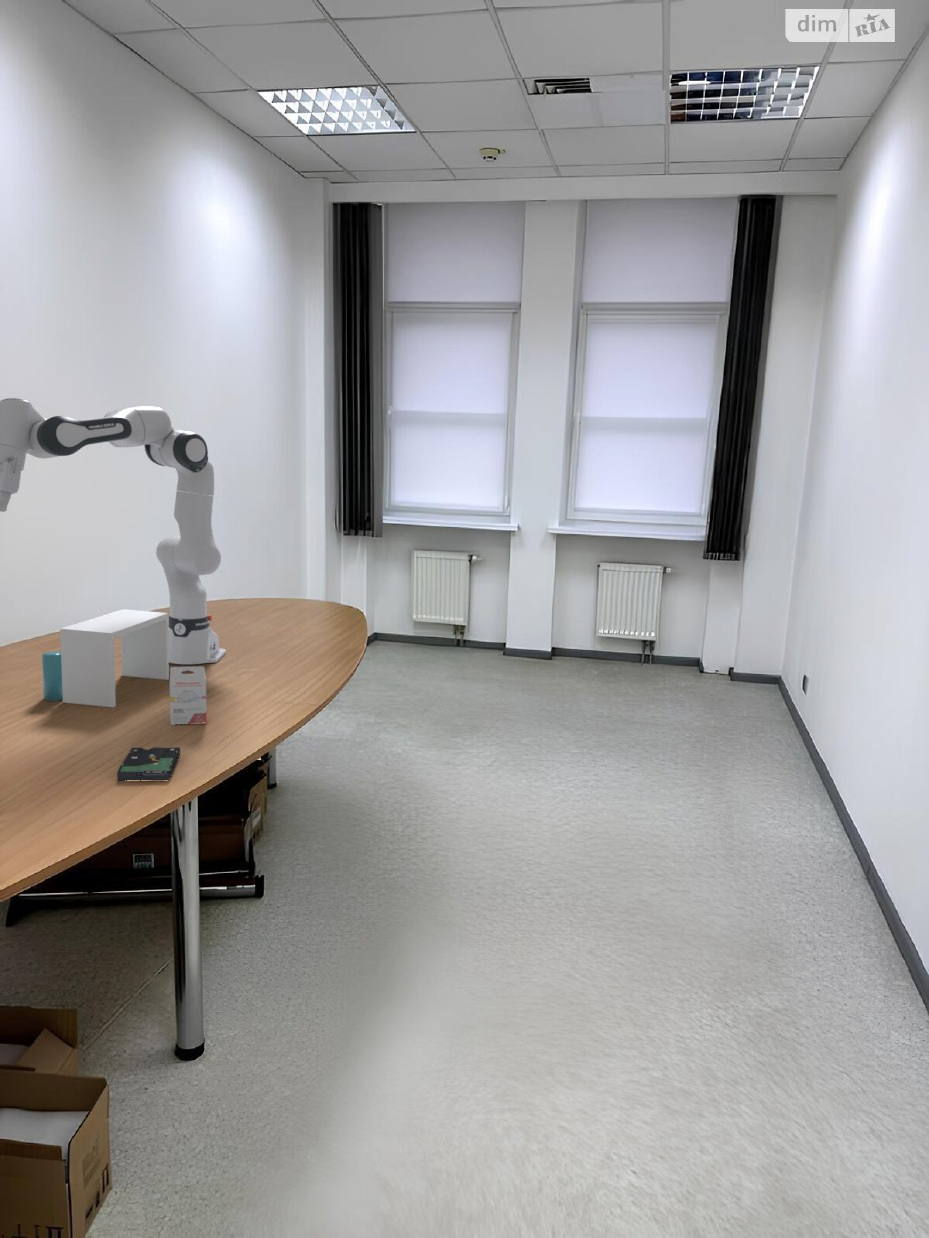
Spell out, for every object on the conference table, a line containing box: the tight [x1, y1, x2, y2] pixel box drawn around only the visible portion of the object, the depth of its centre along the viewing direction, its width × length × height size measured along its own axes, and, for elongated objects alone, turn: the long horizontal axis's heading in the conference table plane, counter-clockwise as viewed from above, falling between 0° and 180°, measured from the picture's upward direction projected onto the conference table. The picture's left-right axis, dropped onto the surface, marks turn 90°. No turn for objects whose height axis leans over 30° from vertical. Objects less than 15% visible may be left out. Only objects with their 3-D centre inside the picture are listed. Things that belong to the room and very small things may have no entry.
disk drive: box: [116, 746, 181, 782], centre depth 181 cm, size 10×3×15 cm
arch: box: [60, 608, 170, 708], centre depth 234 cm, size 30×14×20 cm, turn 172°
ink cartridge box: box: [169, 665, 207, 726], centre depth 211 cm, size 9×5×15 cm, turn 105°
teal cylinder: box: [41, 650, 63, 702], centre depth 225 cm, size 6×6×12 cm
